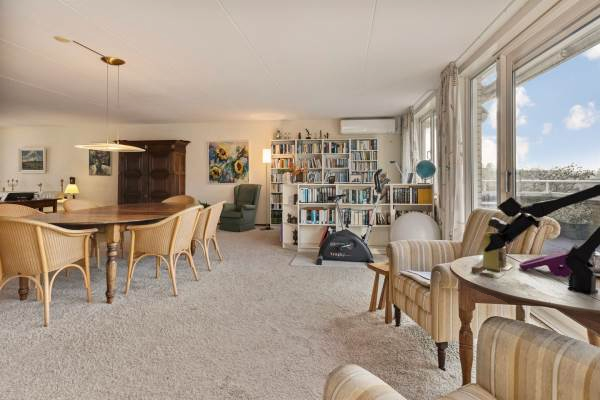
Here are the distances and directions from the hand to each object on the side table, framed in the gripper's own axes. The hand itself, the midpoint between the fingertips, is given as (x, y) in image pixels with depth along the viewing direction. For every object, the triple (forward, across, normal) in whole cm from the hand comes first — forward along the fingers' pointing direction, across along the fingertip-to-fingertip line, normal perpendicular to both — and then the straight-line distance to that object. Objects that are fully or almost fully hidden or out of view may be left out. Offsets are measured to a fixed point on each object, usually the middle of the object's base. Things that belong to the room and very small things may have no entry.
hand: (487, 250), depth 137 cm
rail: (+7, -7, +7) cm, 12 cm away
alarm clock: (+10, -28, +4) cm, 30 cm away
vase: (+4, 0, +6) cm, 7 cm away
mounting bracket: (-4, -19, +20) cm, 28 cm away
